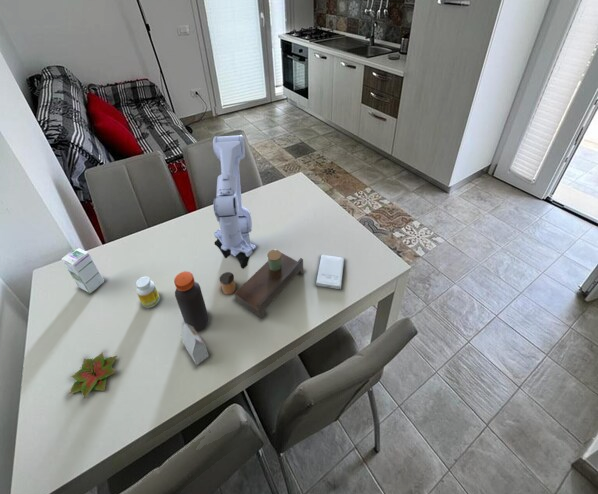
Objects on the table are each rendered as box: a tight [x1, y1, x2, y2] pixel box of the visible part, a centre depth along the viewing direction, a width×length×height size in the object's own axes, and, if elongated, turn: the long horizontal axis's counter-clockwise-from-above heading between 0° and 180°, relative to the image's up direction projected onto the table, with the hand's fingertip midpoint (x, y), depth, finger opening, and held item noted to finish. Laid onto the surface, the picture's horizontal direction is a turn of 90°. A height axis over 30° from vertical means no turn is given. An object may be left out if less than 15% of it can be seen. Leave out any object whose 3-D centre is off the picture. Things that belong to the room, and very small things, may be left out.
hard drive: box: [315, 254, 345, 290], centre depth 114 cm, size 2×8×12 cm
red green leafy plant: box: [67, 351, 118, 400], centre depth 86 cm, size 12×12×5 cm
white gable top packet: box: [180, 322, 210, 366], centre depth 90 cm, size 4×7×10 cm, turn 42°
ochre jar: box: [219, 271, 237, 295], centre depth 108 cm, size 5×5×6 cm
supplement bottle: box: [135, 276, 160, 309], centre depth 104 cm, size 5×5×10 cm
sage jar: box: [267, 249, 282, 271], centre depth 111 cm, size 5×5×6 cm
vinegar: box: [173, 271, 210, 332], centre depth 94 cm, size 7×7×20 cm
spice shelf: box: [233, 252, 304, 319], centre depth 109 cm, size 11×22×6 cm, turn 144°
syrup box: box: [61, 246, 105, 294], centre depth 108 cm, size 6×6×14 cm
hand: (236, 261), depth 106 cm, fingers open, 7 cm apart
